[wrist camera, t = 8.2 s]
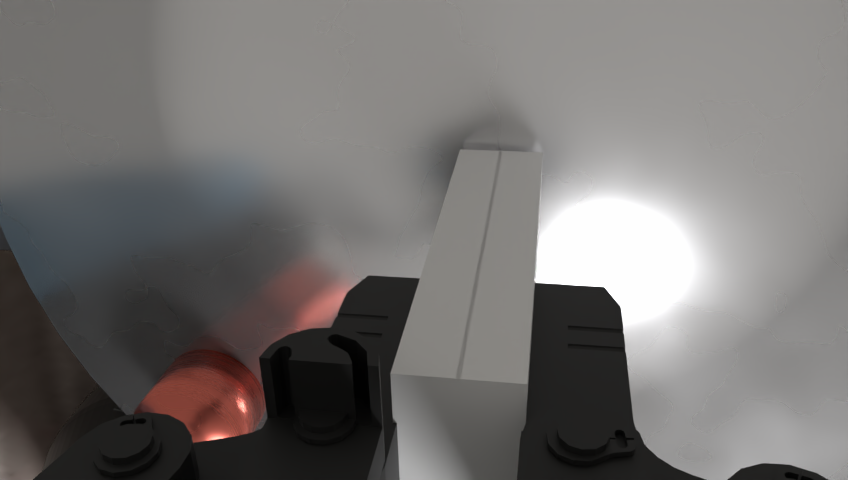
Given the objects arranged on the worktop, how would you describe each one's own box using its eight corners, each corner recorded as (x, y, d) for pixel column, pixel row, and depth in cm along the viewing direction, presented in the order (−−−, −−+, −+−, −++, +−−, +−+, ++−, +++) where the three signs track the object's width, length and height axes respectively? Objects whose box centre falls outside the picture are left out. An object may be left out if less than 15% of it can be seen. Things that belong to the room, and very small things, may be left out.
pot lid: (110, 490, 23) (50, 570, 20) (-132, -400, 14) (-294, -444, 11) (882, 604, 19) (921, 721, 17) (1284, -524, 10) (1503, -632, 7)
